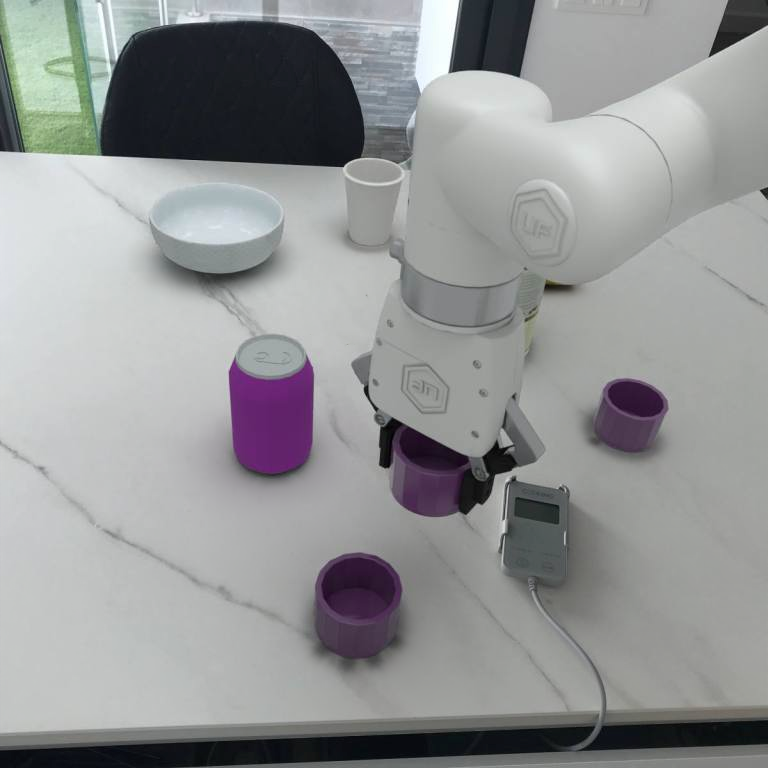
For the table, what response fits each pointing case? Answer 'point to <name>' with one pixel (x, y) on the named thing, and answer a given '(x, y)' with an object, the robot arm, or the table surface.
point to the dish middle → (425, 474)
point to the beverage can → (271, 403)
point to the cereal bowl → (217, 226)
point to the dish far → (630, 414)
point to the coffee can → (530, 302)
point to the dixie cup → (371, 198)
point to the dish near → (357, 604)
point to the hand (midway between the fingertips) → (432, 478)
